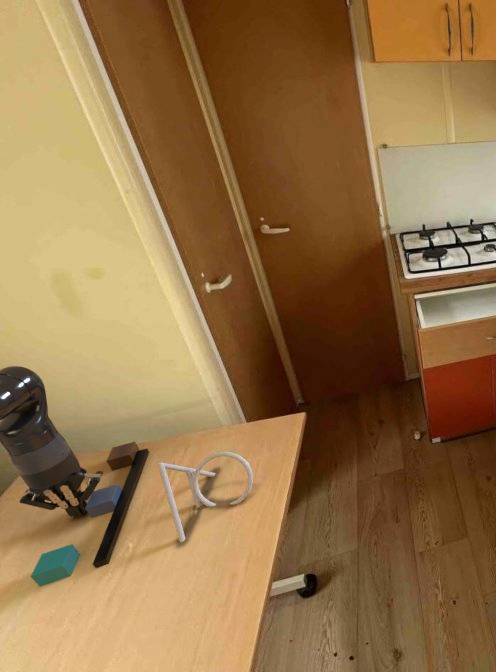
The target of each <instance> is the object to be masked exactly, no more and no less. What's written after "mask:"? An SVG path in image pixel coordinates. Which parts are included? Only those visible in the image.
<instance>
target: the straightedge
mask: <svg viewBox="0 0 496 672" xmlns="http://www.w3.org/2000/svg"><path fill="white" fill-rule="evenodd" d="M149 454H150V451H149V449H148V448H143V449H140V450H139V451H137V453H136V456H135V458H134V461H133V463H132V465H131V466H130V468H129V471H128V474H127V476H126V479H125V481H124V484H123V486H122V488H121V489H122V491H121V494H120V496H119V499H118V501H117V504H116V506H115V509H114V511H113V512H112V514H111V516H110V519H109V522H108V525H107V527H106V530H105V532H104V534H103V537H102V540H101V542H100V544H99V547H98V550H97V552H96V553H95V554H96V555H95V557H94V560H93V562H92V566H93V567H94V568H95V569H97V568H100V567H103V566H106V565H109V564H110V561H111V558H112V556H113V553H114V550H115V547H116V545H117V542H118V539H119V536H120V534H121V531H122V528H123V525H124V523H125V520H126V517H127V514H128V511H129V509H130V506H131V504H132V500H133V499H134V496H135V492H136V490H137V487H138V484H139V481H140V479H141V476H142V473H143V470H144V468H145V465H146V462H147V459H148V457H149Z"/></svg>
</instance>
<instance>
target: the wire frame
mask: <svg viewBox="0 0 496 672" xmlns="http://www.w3.org/2000/svg"><path fill="white" fill-rule="evenodd" d="M221 457H228V458H232V459H235V460H236V461H237V462H239V463H240V464H241V465H242V466H243V467H244V469H245V471H246V475H247V485H246V487H245V489H244V491H243V493H242V494H241V495H240V496H239V497H238V498H237V499H236V500H234V501H232V502H230V505H238V504H240V503H242V502H243V501H244V500H245V499H246V498H247V496H248V495H249V494H250V491H251V489H252V486H253V482H254V475H253V470H252V466H251V465H250V464H249V462H248V461H247V460H246V459H245V458H244V457H242V456H241V455H240V454H238V453H235V452H231V451H219V452H215V453H212V454H210V455H208V456H206V457H205V458H204V459H202V460H201V461H200V463H199V464H198V465H197V466H196V468H193V467H187V466H182V465H178V464H173V463H167V462H162V461H161V462H160V461H159V463H158V464H157V467H158V471H159V473H160V477H161V480H162V484H163V487H164V491H165V494H166V495H165V496H166V499H167V502H168V505H169V509H170V512H171V516H172V519H173V523H174V526H175V528H176V529H175V530H176V533H177V537H178V540H179V543H183V542H185V540H186V535H185V532H184V527H183V525H182V521H181V518H180V514H179V511H178V506H177V503H176V500H175V497H174V493H173V489H172V486H171V483H170V479H169V476H168V471H167V470H171V471H177V472H182V473H185V474H186V478H187V481H188V484H189V487H190V491H191V494H192V495H191V496H192V498H193V502H194V505H195V508H196V509H199V508H200V507H201V506H202V504H203V505H204V506H206V507H209V508H210V507H211V508H212V507H215V506H216V505H217V503H216V502H212V501H210V500H209V499H207V498H206V497H205V496H204V494H203V493H202V492H201V490H200V486H199V476H204V477H209V478H213V477H215V475H216V472H213V471H209V470H208V471H207V470H203V468H204V467H205V465H206V464H208V463H209V462H210V461H212V460H214V459H216V458H221Z"/></svg>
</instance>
